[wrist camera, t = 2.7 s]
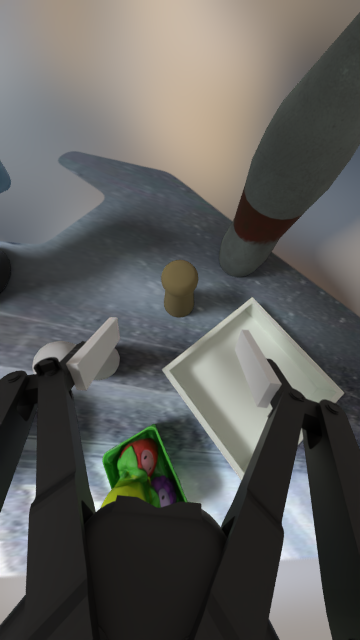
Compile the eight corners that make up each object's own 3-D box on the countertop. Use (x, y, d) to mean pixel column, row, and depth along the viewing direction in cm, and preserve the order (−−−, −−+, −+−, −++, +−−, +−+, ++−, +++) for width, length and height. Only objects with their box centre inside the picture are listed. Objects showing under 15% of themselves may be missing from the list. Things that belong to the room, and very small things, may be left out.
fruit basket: (191, 486, 23) (203, 598, 12) (137, 523, 22) (97, 683, 11) (158, 411, 26) (144, 449, 15) (108, 440, 24) (52, 505, 14)
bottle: (252, 285, 32) (995, -457, 3) (210, 272, 33) (478, -443, 4) (262, 250, 34) (728, -361, 5) (222, 237, 35) (444, -364, 6)
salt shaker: (112, 338, 29) (62, 321, 16) (130, 363, 28) (90, 365, 15) (85, 359, 28) (8, 357, 15) (102, 385, 26) (34, 407, 14)
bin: (164, 368, 27) (161, 369, 24) (242, 305, 31) (252, 297, 27) (240, 473, 24) (252, 495, 20) (320, 388, 27) (344, 392, 23)
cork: (197, 313, 30) (208, 288, 20) (167, 320, 30) (161, 297, 19) (190, 286, 32) (196, 248, 21) (161, 292, 31) (153, 256, 21)
